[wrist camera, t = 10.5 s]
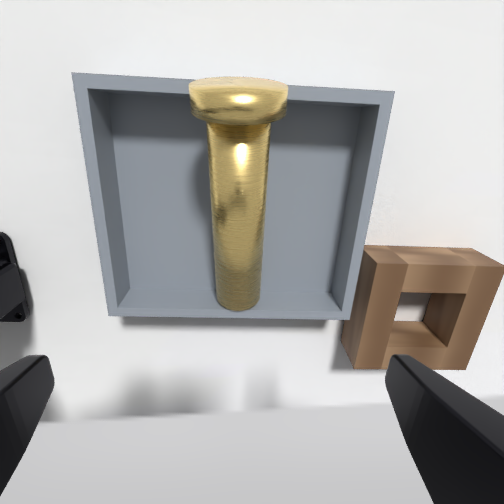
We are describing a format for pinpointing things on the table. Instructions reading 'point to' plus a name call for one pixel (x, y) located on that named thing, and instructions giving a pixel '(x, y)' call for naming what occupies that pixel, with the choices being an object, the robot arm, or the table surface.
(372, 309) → the block
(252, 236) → the pin
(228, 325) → the table surface
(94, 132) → the tray
